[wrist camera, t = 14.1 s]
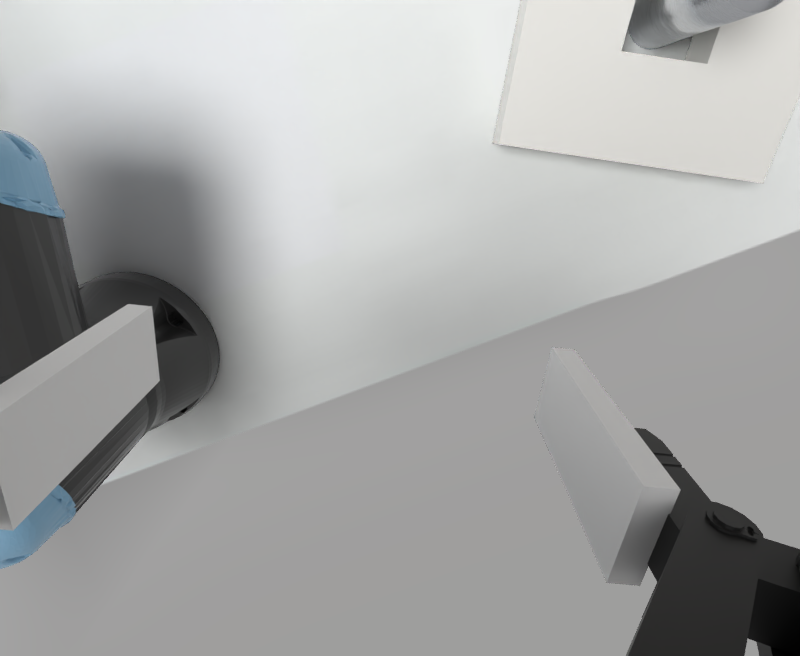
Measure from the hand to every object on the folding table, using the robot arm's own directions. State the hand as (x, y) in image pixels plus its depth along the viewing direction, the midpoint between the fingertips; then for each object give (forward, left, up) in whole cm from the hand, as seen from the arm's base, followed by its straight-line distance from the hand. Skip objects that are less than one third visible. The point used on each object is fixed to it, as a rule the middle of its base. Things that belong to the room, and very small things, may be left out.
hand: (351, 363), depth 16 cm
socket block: (+17, +17, -28) cm, 37 cm away
